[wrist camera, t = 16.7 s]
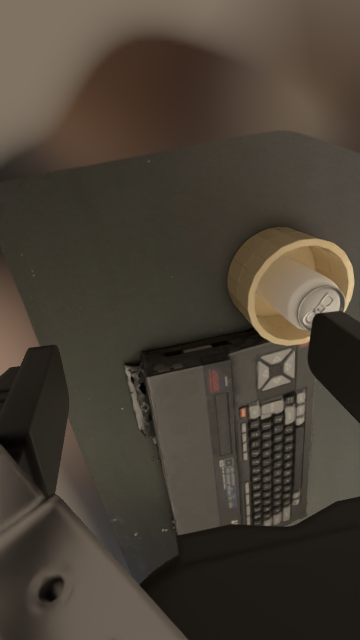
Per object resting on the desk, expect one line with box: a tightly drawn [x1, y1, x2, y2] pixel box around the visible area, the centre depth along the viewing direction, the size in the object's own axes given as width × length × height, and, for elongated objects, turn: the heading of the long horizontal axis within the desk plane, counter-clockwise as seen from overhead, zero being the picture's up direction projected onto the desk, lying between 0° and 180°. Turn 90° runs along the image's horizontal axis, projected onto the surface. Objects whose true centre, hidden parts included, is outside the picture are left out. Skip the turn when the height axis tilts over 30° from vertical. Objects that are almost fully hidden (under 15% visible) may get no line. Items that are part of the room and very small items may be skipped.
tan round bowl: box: [227, 227, 354, 346], centre depth 45 cm, size 14×14×8 cm
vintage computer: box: [124, 329, 316, 535], centre depth 56 cm, size 43×29×8 cm
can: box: [256, 255, 346, 333], centre depth 42 cm, size 6×6×12 cm
